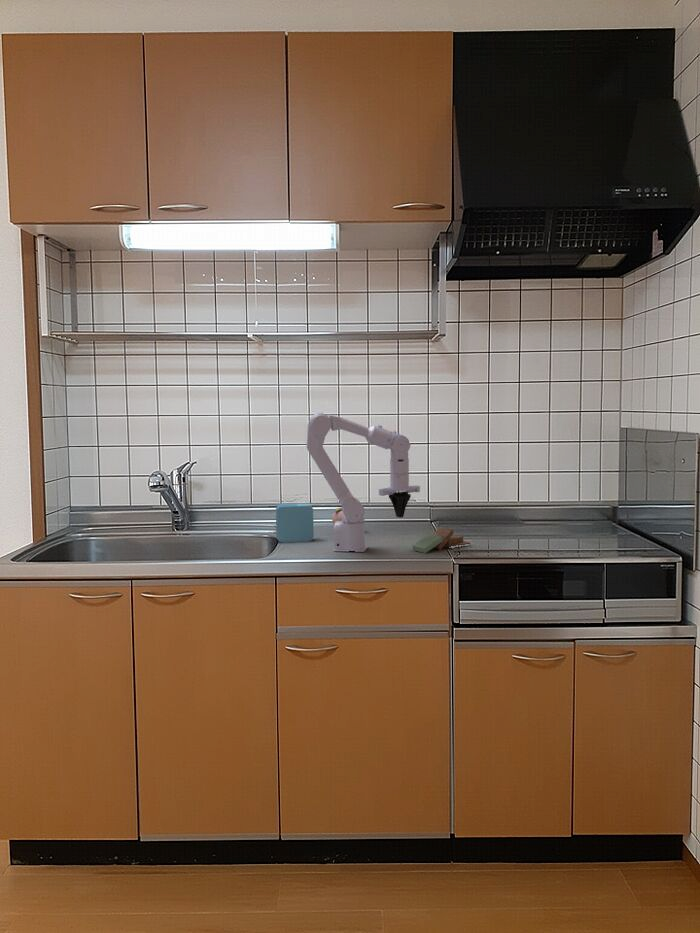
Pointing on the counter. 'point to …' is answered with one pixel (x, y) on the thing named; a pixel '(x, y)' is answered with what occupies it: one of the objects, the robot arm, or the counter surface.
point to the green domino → (427, 543)
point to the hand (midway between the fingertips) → (399, 516)
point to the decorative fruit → (337, 515)
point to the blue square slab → (294, 522)
